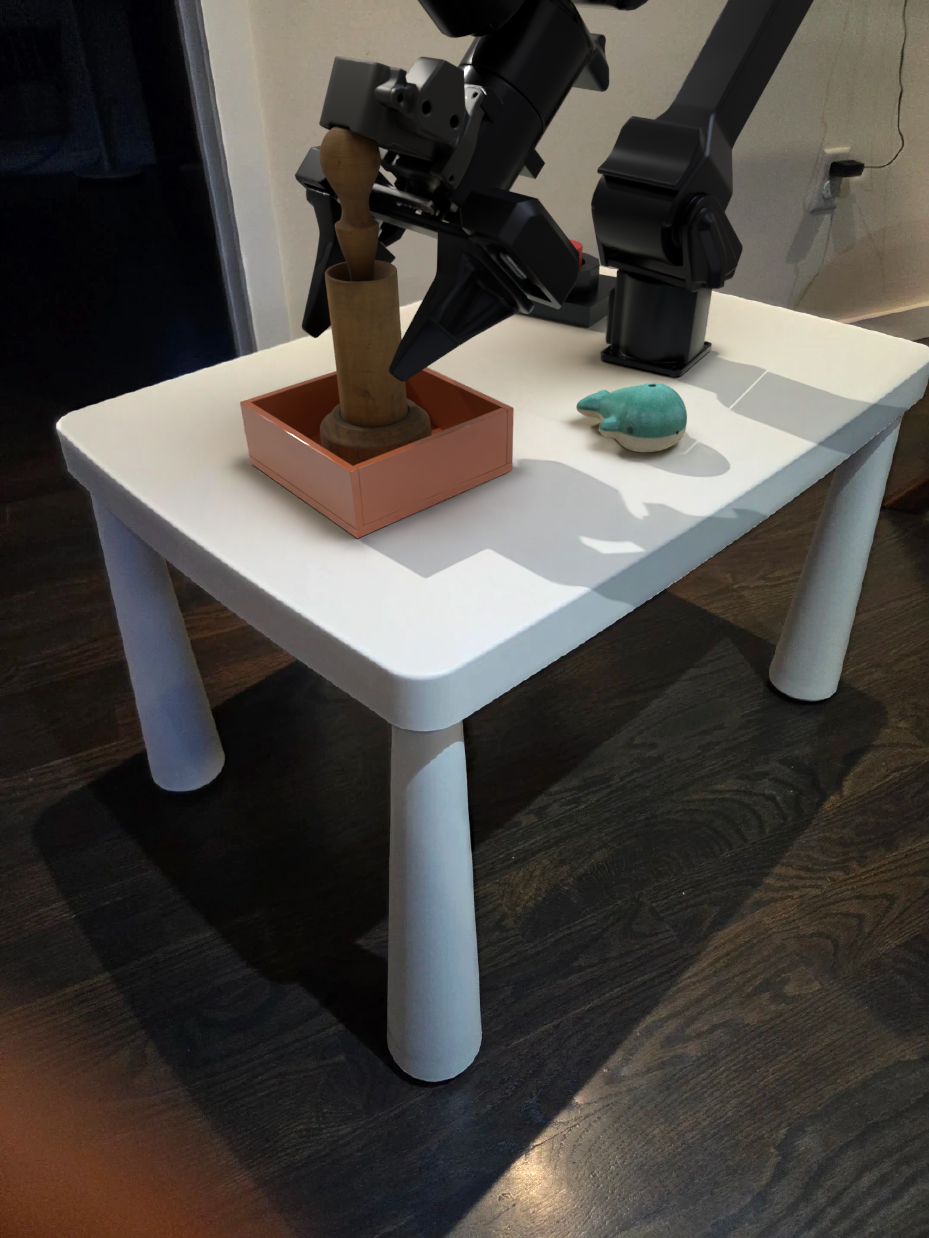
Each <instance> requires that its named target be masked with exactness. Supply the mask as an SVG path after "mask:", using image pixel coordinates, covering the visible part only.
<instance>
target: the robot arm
mask: <svg viewBox="0 0 929 1238" xmlns="http://www.w3.org/2000/svg"><path fill="white" fill-rule="evenodd" d="M814 1H815V0H726V2H725V4H724V6H723V7H722V9H721V12H720V13H719V15H718V17H717V18H716V21H715V22H714V24H713V26H712V28H711V30H710V32H709V33H708V35H707V37H706V40H705V41H704V43H703V45H702V47H701V48H700V50H699V52H698V54H697V56H696V58H695V59H694V61H693V64H692V65H691V67H690V68H689V70H688V72H687V74H686V76H685V77H684V80H683V82H682V84H681V85H680V87H679V89H678V91H677V92H676V94H675V97H674V98H673V100H672V102H671V104H670V105H669V107H667V109H666V110H665V111H664V112H663V113H661V114H660V115H658V116H657V117H656V118H648V117H641V116H635V115H632V116H630V117H629V118H628V119H627V120H626V122H624V124H623V125H622V127H621V128H620V131H619V133H618V136H617V138H616V140H615V143H614V145H613V147H612V149H611V151H610V153H609V154H608V156H607V157H606V159H605V160H604V161H603V162H602V163H601V164H600V165H599V166H598V168H597V170H596V173H597V174H599V175H601V176H600V178H599V180H598V181H597V183H596V186H595V188H594V191H593V193H592V197H591V201H590V207H591V208H590V209H591V210H590V211H591V218H592V224H593V230H594V234H595V235H594V236H595V241H596V246H597V251H598V256H599V257H598V258H599V263H600V266H602V267H607V268H608V267H609V268H614V269H617V270H616V275H615V277H616V286H615V287H613V288H612V289H611V290H610V291H609V300H608V312H607V316H606V323H605V324H606V325H605V337H604V338H605V339H604V341H605V343H606V345H608V346H607V347H605V348H604V349H602V350H601V351H600V354H599V355H600V356H599V359H600V360H602V361H605V362H610V363H614V364H618V365H623V366H627V367H632V368H635V369H636V368H637V369H641V370H645V371H650V372H655V373H659V374H663V375H666V376H673V377H680V376H682V375H684V374H685V373H686V372H687V371H688V370H689V369H691V368H692V367H693V366H694V365H695V364H696V363H697V362H698V361H700V360H701V359H702V358H704V356H706V355H707V354H708V353H709V352H710V351H712V347H713V344H712V342H710V341H707V340H706V333H707V327H708V322H709V321H708V320H709V313H710V308H711V302H712V301H711V300H712V294H713V290H720V289H722V288H724V287H725V284H726V281H729V280H732V279H733V278H734V276H735V273H736V270H737V268H738V266H739V261H740V259H741V256H742V253H743V244H742V243H741V239H740V238H739V237H738V234H737V233H736V231H735V229H734V227H733V225H732V223H731V222H730V220H729V217H728V216H727V214H726V212H727V211H726V210H727V208H728V207H729V204H730V201H731V199H732V197H733V193H734V181H733V180H734V174H733V172H734V171H733V149H734V146H735V145H736V142H737V140H738V138H739V136H740V135H741V134H742V131H743V129H744V127H745V126H746V124H747V122H748V120H749V119H750V117H751V114H752V113H753V112H754V110H755V107H756V106H757V104H758V102H759V100H760V99H761V97H762V95H763V93H764V91H765V89H766V88H767V86H768V85H769V82H770V81H771V79H772V77H773V75H774V73H775V71H776V69H777V68H778V66H779V64H780V63H781V60H782V59H783V57H784V55H785V53H786V52H787V50H788V48H789V46H790V45H791V42H792V41H793V39H794V38H795V35H796V34H797V32H798V30H799V28H800V26H801V24H802V23H803V21H804V19H805V17H806V16H807V13H808V12H809V10H810V8H811V7H812V4H813V3H814ZM417 2H418V3H419V5H420V6H421V7H422V8H423V10H424V11H425V13H426V14H427V16H428V17H429V18H430V20H431V21H432V22H433V24H434V25H435V27H436V29H437V30H438V31H439V32H440V34H441V35H444V36H446V37H447V38H451V39H457V38H465V37H468V36H470V37H474V38H473V40H472V41H471V43H470V45H469V47H468V49H467V50H466V52H465V53H464V55H463V57H462V59H461V60H460V62H459V64H458V65H455V64H453V63H451V62H450V61H448V60H446V59H443V58H435V57H428V56H420V57H419V58H417V59H416V61H415V62H414V63H413V64H412V66H411V67H410V68H409V70H408V71H407V70H405V69H404V68H401V67H395V66H389V65H387V64H384V63H381V62H378V61H374V60H373V61H371V60H367V59H366V60H365V59H359V58H354V57H353V58H352V57H346V56H339V55H336V56H334V59H333V63H332V68H331V72H330V77H329V80H328V85H327V89H326V93H325V98H324V102H323V106H322V110H321V114H320V117H319V123H318V125H319V126H320V127H321V128H324V129H325V130H328V131H329V130H331V129H332V128H334V127H335V126H339V125H340V126H345V127H349V128H350V131H351V132H352V133H354V134H358V135H362V136H365V137H368V138H371V139H374V140H376V142H377V144H378V146H379V149H380V154H381V165H380V167H381V168H382V169H383V170H384V171H385V172H388V173H391V174H392V175H393V176H394V178H395V180H394V182H393V183H391V182H390V181H389V179H388V178H387V177H386V176H385V175H384V174H383V173H382V172H381V171H380V170H379V173H378V175H377V178H376V180H375V183H374V185H373V188H372V190H371V193H370V195H369V208H370V212H371V215H372V217H373V218H374V219H375V220H377V221H378V222H379V236H378V243H377V250H376V255H375V260H379V261H384V262H388V263H391V264H392V263H393V262H394V261H395V260H396V257H397V256H395V255H394V254H393V252H391V250H389V249H388V247H389V246H391V245H393V244H395V243H396V242H398V241H400V240H402V238H403V235H404V234H405V232H406V230H407V231H411V232H415V233H417V234H420V235H423V236H426V237H429V238H432V239H435V240H437V244H436V245H437V246H436V271H435V276H434V278H433V280H432V282H431V284H430V285H429V287H428V289H427V291H426V293H425V295H424V296H423V299H422V300H421V302H420V305H419V306H418V308H417V309H416V311H415V314H414V315H413V317H412V320H411V321H410V322H409V325H408V327H407V328H406V330H405V332H404V334H403V336H402V340H401V342H400V344H399V346H398V348H397V350H396V353H395V355H394V357H393V360H392V362H391V364H390V367H389V373H390V374H391V375H392V376H394V377H395V378H396V379H397V380H399V381H401V382H404V381H406V380H408V379H409V378H411V377H412V376H414V375H416V374H417V373H419V372H420V371H422V370H423V369H425V368H426V367H428V368H429V366H431V365H433V364H434V363H436V362H437V361H438V360H441V358H443V357H445V356H446V355H448V354H449V353H451V352H452V351H454V350H456V349H457V348H459V347H460V346H462V345H463V344H465V343H466V342H468V341H469V340H471V339H473V338H475V337H476V336H478V335H480V334H482V333H483V332H486V331H487V330H489V329H491V328H493V327H494V326H496V325H498V324H500V323H502V322H503V321H505V320H507V319H509V318H511V317H512V316H515V315H516V314H520V313H519V312H522V313H525V314H529V313H530V312H531V311H532V310H533V308H534V304H533V303H532V302H531V301H530V300H529V299H531V300H534V301H537V302H540V303H542V304H545V305H548V306H551V307H554V308H556V309H560V307H561V306H562V305H563V303H564V301H565V300H566V298H567V296H568V295H569V293H570V292H571V290H572V288H573V287H574V285H575V283H576V282H577V280H578V276H579V252H578V250H577V249H576V248H575V247H574V245H573V244H572V243H571V241H570V240H571V239H570V238H569V237H568V236H567V235H566V233H565V232H564V231H563V229H562V228H561V227H560V226H559V224H558V223H557V222H556V220H555V218H554V217H553V216H552V215H551V214H550V212H549V211H548V209H546V207H545V206H544V205H543V203H542V202H541V200H540V199H539V198H538V197H534V196H530V195H526V194H522V193H519V192H515V191H511V190H512V188H513V187H514V185H515V183H516V181H517V180H518V178H519V177H524V178H529V179H533V180H536V179H537V178H538V177H539V175H540V173H541V172H542V170H543V168H544V166H545V164H546V162H545V160H544V159H543V158H542V156H541V155H540V154H539V152H538V151H537V149H536V148H537V147H538V145H539V144H540V141H541V140H542V139H543V136H544V135H545V133H546V131H547V130H548V128H549V127H550V125H551V123H552V122H553V120H554V119H555V117H556V115H557V113H558V112H559V110H560V108H561V107H562V106H563V104H564V102H565V100H566V99H567V97H568V96H569V93H570V92H571V90H572V89H573V88H574V89H581V90H588V91H595V92H599V93H604V92H606V91H607V90H608V89H609V87H610V66H609V62H608V60H607V56H606V43H607V38H606V36H605V35H604V34H602V33H593V32H591V31H590V30H589V28H588V26H587V25H586V24H587V23H585V20H584V19H583V17H582V15H581V13H580V12H579V10H578V8H582V9H593V10H595V9H596V10H609V11H622V12H631V11H636V10H637V9H639V8H640V7H642V6H644V5H645V4H647V3H648V2H649V0H417ZM320 147H321V145H317V146H311V147H310V148H309V149H308V152H307V153H306V155H305V157H304V158H303V160H302V162H301V163H300V165H299V167H298V169H296V171H295V174H294V177H295V180H296V181H297V182H298V183H299V184H300V185H301V186H302V187H303V188H304V189H305V199H306V201H307V202H308V204H309V205H311V207H312V208H313V211H314V214H315V219H316V223H317V226H318V232H319V233H318V242H317V250H316V256H315V262H314V267H313V271H312V275H311V280H310V286H309V289H308V293H307V299H306V303H305V307H304V313H303V318H302V321H301V330H302V331H303V332H305V334H307V335H308V336H310V337H311V338H313V339H317V338H319V337H320V336H321V335H322V334H324V333H325V332H326V331H328V329H329V328H331V320H330V312H329V304H328V296H327V288H326V280H325V271H326V270H327V269H328V268H330V267H332V266H334V265H337V264H339V263H343V262H346V260H345V258H344V255H343V252H342V249H341V247H340V244H339V241H338V238H337V234H336V230H335V224H336V223H337V222H338V221H340V219H341V215H342V207H341V204H340V200H339V198H338V196H337V194H336V193H335V191H334V190H333V188H332V187H331V185H330V184H329V182H328V180H327V179H326V177H325V175H324V173H323V171H322V169H321V165H320V159H319V153H320ZM525 314H524V315H525Z"/></svg>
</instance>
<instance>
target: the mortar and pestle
mask: <svg viewBox="0 0 929 1238" xmlns="http://www.w3.org/2000/svg"><path fill="white" fill-rule="evenodd" d="M320 146H321V147H320V153H319V159H320V165H321V169H322V171H323V173H324V175H325V177H326V179H327V180H328V182H329V184H330V185H331V187H332V188H333V190H334V191H335V193H336V194H337V196H338V198H339V200H340V204H341V207H342V215H341V219H340V221H338V222H337V223H336V224H335V230H336V234H337V238H338V241H339V244H340V247H341V249H342V252H343V255H344V258H345V260H346V262H343V263H339V264H337V265H334V266H332V267H330V268H328V269H327V270H326V271H325V280H326V288H327V296H328V304H329V312H330V320H331V326H330V328H331V335H332V344H333V345H332V346H333V353H334V362H335V371H337V380H338V389H339V398H340V404H338V405H337V406H336V407H335V408H334V409H333V410H332V412H331V413H329V414H328V415H327V416H326V417H325V418H324V419H323V421H322V423H321V425H320V436H321V443H322V447H323V448H325V449H327V450H328V451H330V452H331V453H333V454H335V455H336V456H338V457H339V458H341V459H343V460H344V461H346V462H347V463H349V464H351V465H352V466H354V465H356V464H359V463H361V462H364V461H367V460H369V459H372V458H374V457H377V456H379V455H382V454H384V453H387V452H390V451H392V450H395V449H397V448H400V447H402V446H405V445H408V444H410V443H413V442H415V441H418V440H420V439H423V438H425V437H428V436H431V422H430V417H429V415H428V414H427V412H426V411H425V410H424V409H422V408H421V407H419V406H417V405H416V404H415V403H414V402H412V401H411V400H409V399H407V397H406V386H405V381H404V382H401V381H399V380H397V379H396V378H395V377H394V376H392V375H391V374H390V373H389V367H390V364H391V362H392V360H393V357H394V355H395V353H396V350H397V348H398V346H399V344H400V342H401V340H402V338H403V336H402V325H401V324H402V323H401V310H400V294H399V277H398V276H399V275H398V268H397V267H396V266H395V264H392V263H388V262H384V261H379V260H375V255H376V250H377V243H378V236H379V222H378V221H377V220H375V219H374V218H373V217H372V215H371V212H370V208H369V195H370V193H371V190H372V188H373V185H374V183H375V180H376V178H377V175H378V173H379V171H380V170H381V154H380V149H379V146H378V144H377V142H376V140H374V139H371V138H368V137H365V136H362V135H358V134H354V133H352V132H351V131H350V128H349V127H345V126H340V125H339V126H335V127H334V128H332V129H331V130H328V131H326V133H325V135H324V136H323V138H322V141H321V143H320Z"/></svg>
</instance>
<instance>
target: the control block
mask: <svg viewBox="0 0 929 1238" xmlns="http://www.w3.org/2000/svg"><path fill="white" fill-rule="evenodd" d="M600 266H601V263H600V258H599V257H595V256H594V255H591V254H589V253H587V252H583V253H582V266H580V267H579V276H578V280H577V282H576V283H575V285H574V287H573V288H572V290H571V292H570V293H569V295H568V296H567V298H566V300H565V301H564V303H563V305H562V306H561V307H560V309H556V308H554V307H551V306H548V305H545V304H542V303H540V302H537V301H534V300H531V299H529V300H530V301H531V302H532V303H533V304H534V308H533V310H532V311H531V312H530V313H529V314H525V313H522V312H519V313H518V314H521V315H526V316H530V317H535V318H539V319H544V320H549V321H554V322H559V323H565V324H568V325H572V326H576V327H577V326H578V327H583V328H587V329H589V328H591V327H592V326H594V325H596V324H597V323H598V322H600V321H601V320H603V319H604V318H607V312H608V300H609V291H610V290H611V289H612V288H613V287H615V286H616V276H613V275H607V274H603V273H600V271H601V269H600V268H601V267H600Z"/></svg>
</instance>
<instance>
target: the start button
mask: <svg viewBox="0 0 929 1238" xmlns="http://www.w3.org/2000/svg"><path fill="white" fill-rule="evenodd" d="M569 240H570V241H571V243H572V244H573V245H574V247H575V248H576V249H577V250H578V252H579V267H580V266H582V253H584V251H583V250H584V245H583V243H582V242H580V241H577V240H574V239H569Z"/></svg>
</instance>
